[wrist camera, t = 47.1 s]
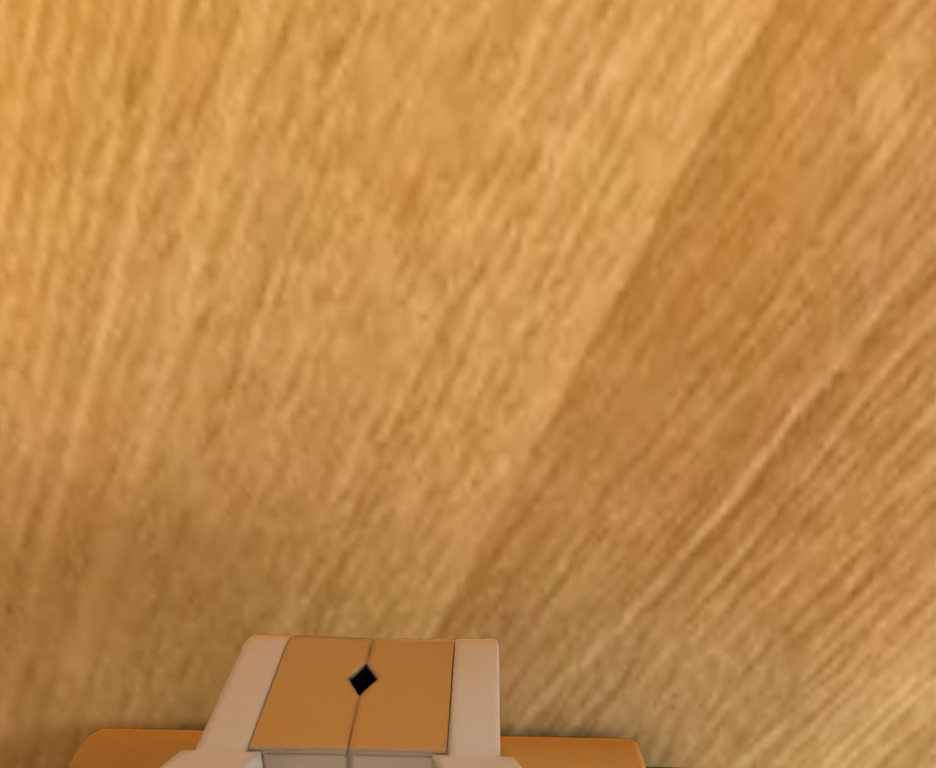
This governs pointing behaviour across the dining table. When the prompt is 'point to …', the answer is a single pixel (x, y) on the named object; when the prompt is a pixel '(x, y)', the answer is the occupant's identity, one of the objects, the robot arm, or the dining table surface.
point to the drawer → (542, 758)
